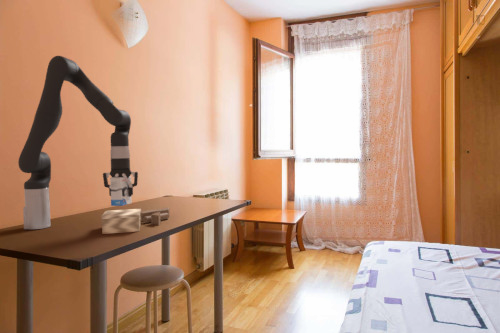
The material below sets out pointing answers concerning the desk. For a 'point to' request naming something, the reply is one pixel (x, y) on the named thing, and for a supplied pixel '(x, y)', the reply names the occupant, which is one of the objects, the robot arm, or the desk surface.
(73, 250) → the desk surface
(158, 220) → the wooden block set
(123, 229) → the chevron patterned box
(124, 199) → the ink box
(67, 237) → the desk surface
